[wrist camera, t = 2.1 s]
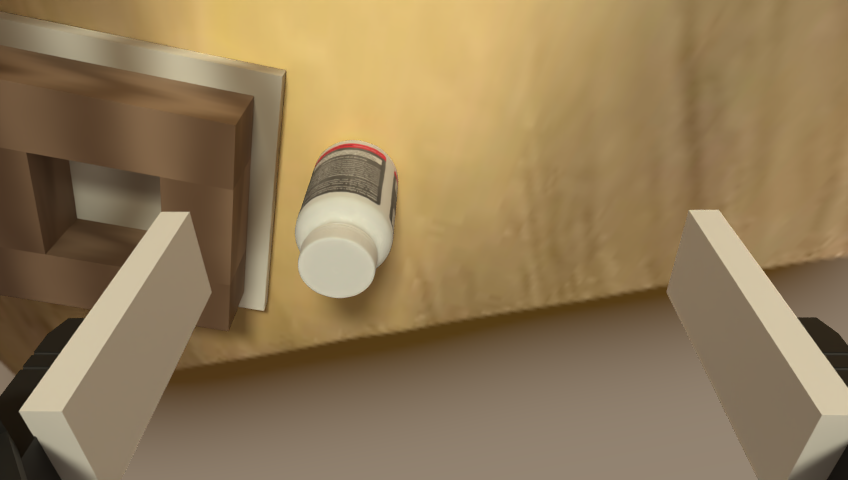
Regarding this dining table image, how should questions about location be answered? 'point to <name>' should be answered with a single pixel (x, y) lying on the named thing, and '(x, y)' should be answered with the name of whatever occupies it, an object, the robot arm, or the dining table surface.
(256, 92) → the socket block
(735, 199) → the dining table surface
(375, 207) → the pill bottle
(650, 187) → the dining table surface
